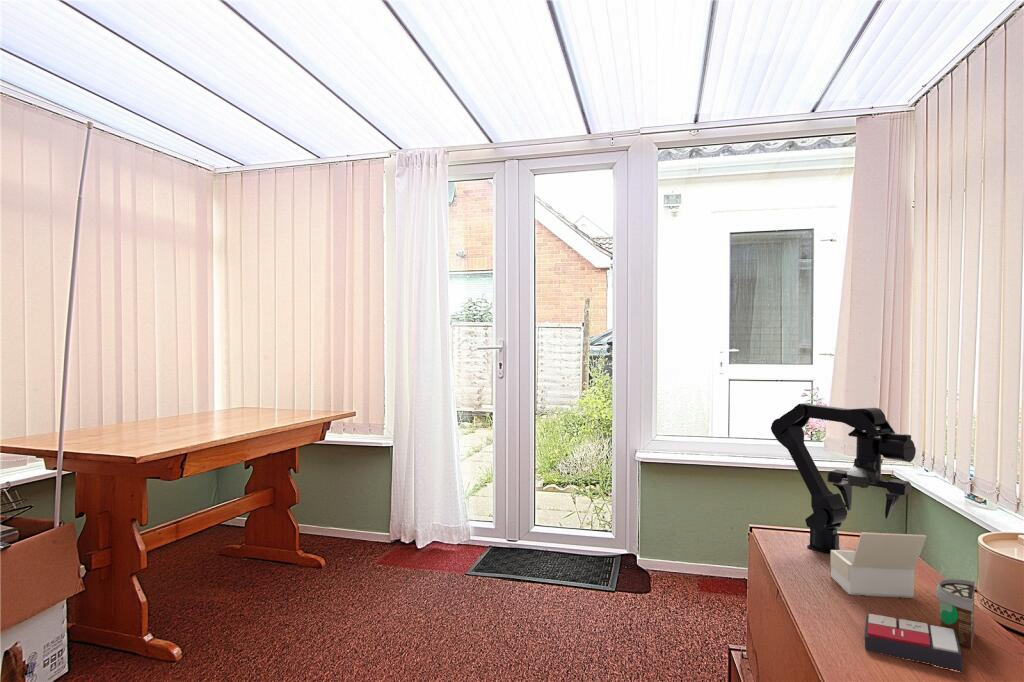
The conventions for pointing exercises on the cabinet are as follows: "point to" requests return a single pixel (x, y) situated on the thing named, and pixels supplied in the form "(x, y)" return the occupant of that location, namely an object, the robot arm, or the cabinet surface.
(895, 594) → the carton
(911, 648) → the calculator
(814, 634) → the cabinet surface
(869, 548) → the carton flap
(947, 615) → the food container
